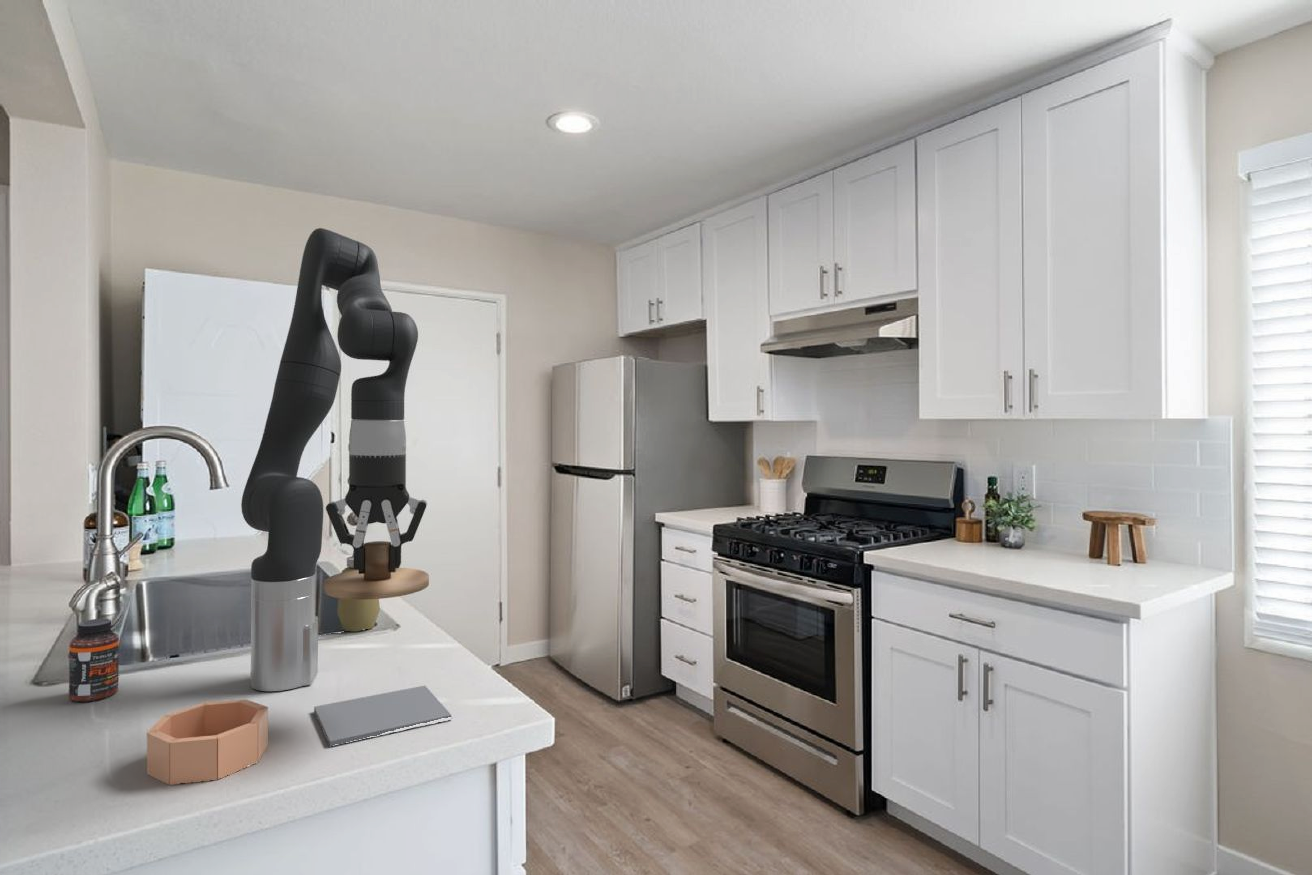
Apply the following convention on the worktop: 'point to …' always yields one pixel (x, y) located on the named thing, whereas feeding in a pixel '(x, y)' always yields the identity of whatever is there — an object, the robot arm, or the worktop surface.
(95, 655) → the supplement bottle
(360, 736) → the mat
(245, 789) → the worktop surface
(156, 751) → the bowl
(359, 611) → the squeeze bottle
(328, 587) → the lid
